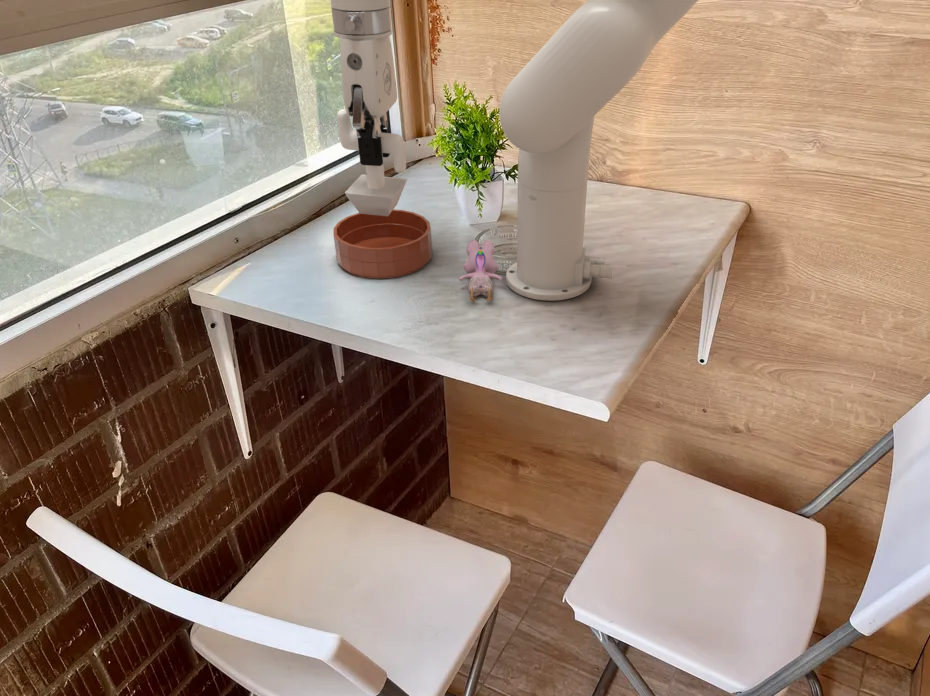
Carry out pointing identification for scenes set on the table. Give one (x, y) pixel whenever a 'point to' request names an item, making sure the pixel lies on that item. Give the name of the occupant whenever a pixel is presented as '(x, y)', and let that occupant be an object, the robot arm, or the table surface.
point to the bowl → (383, 244)
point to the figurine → (374, 171)
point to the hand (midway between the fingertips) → (375, 159)
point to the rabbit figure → (480, 269)
